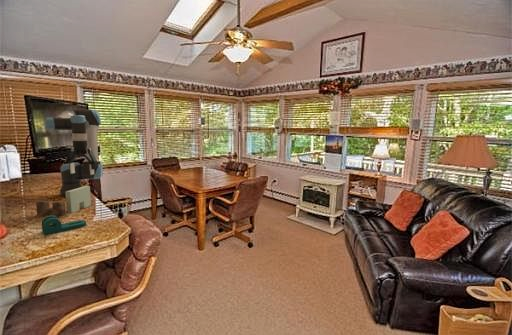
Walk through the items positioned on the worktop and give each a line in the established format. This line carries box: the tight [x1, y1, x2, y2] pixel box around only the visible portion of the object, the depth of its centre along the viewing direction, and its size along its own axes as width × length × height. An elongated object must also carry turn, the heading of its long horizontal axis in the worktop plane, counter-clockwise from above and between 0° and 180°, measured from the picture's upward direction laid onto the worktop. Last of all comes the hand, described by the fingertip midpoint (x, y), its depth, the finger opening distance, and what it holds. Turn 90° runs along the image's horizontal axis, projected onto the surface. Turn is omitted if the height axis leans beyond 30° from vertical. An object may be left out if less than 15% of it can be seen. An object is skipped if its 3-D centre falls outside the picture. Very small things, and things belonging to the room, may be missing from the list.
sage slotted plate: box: [65, 185, 92, 214], centre depth 164 cm, size 16×3×13 cm, turn 173°
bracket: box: [41, 215, 87, 237], centre depth 134 cm, size 18×7×8 cm, turn 137°
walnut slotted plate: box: [35, 200, 67, 218], centre depth 153 cm, size 16×2×8 cm, turn 83°
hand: (82, 173), depth 167 cm, fingers open, 13 cm apart
